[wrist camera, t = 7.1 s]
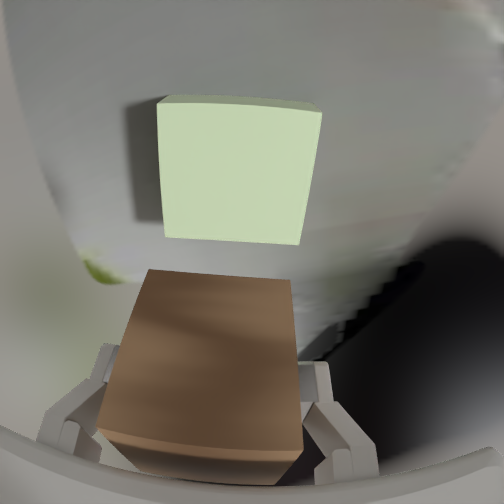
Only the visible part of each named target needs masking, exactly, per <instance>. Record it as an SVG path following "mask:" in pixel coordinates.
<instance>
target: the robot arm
mask: <svg viewBox="0 0 504 504" xmlns="http://www.w3.org/2000/svg"><path fill="white" fill-rule="evenodd" d="M119 347H120V346H119V345H113V344H108V343H104V344H103V345H102V346H101V348H100V351H99V354H98V356H97V359H96V362H95V365H94V368H93V370H92V373H91V376H90V379H85V380H84V381H82V382H81V383H80V384H79V385H77V386H76V387H75V388H74V389H73V390H71V391H70V392H69V393H68V394H66V395H65V396H64V397H63V398H62V399H60V400H59V401H58V402H57V403H55V404H54V405H53V406H52V407H51V408H49V409H48V410H47V411H46V412H45V415H44V418H43V421H42V424H41V427H40V430H39V433H38V436H37V439H36V441H34V440H32V439H29V438H27V437H25V436H23V435H21V434H18V433H16V432H14V431H12V430H10V429H8V428H6V427H4V426H1V425H0V504H504V456H503V455H502V454H501V453H500V452H498V451H497V450H496V449H495V448H493V447H486V448H482V449H480V450H477V451H474V452H471V453H469V454H466V455H463V456H460V457H457V458H454V459H451V460H447V461H444V462H441V463H437V464H434V465H430V466H427V467H423V468H419V469H415V470H411V471H406V472H402V473H398V474H393V475H387V476H382V477H380V476H379V469H378V462H377V455H376V448H375V444H374V443H373V442H372V441H371V440H370V439H369V437H368V436H367V435H366V434H365V433H364V432H363V431H362V429H361V428H360V427H359V426H358V425H357V424H356V423H355V421H354V420H353V419H352V418H351V417H350V416H349V415H348V413H347V412H346V411H345V410H344V409H343V408H342V407H341V405H340V404H339V403H338V402H334V401H333V395H332V388H331V381H330V374H329V367H328V364H327V362H312V361H305V362H298V375H299V388H300V403H301V418H302V422H303V425H304V426H305V428H306V429H307V431H308V432H309V434H310V435H311V436H312V438H313V439H314V441H315V442H316V444H317V445H318V447H319V448H320V449H321V451H322V452H323V454H324V455H325V457H326V459H325V460H324V461H323V462H322V463H320V464H319V465H318V466H317V467H316V468H315V469H314V472H315V485H309V486H287V487H252V486H230V485H216V484H206V483H196V482H188V481H181V480H174V479H168V478H162V477H156V476H150V475H146V474H141V473H136V472H132V471H127V470H123V469H119V468H115V467H111V466H107V465H104V464H100V463H99V460H100V455H101V450H102V448H101V445H100V444H99V443H98V442H97V441H96V440H94V439H93V438H92V436H93V435H94V434H95V433H96V432H97V430H98V429H97V428H96V427H95V426H96V422H97V419H98V415H99V412H100V408H101V405H102V401H103V398H104V394H105V391H106V388H107V385H108V381H109V378H110V375H111V372H112V369H113V366H114V362H115V359H116V356H117V353H118V350H119Z"/></svg>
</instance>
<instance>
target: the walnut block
mask: <svg viewBox="0 0 504 504" xmlns="http://www.w3.org/2000/svg"><path fill="white" fill-rule="evenodd" d="M95 427H96V428H97V429H98V430H99V431H100V432H101V433H102V434H103V435H104V437H106V439H107V440H108V441H109V442H110V443H111V444H112V445H113V446H115V448H116V449H117V450H118V451H119V452H120V453H122V454H123V455H124V456H125V457H126V458H127V459H128V460H129V461H130V462H131V463H132V464H133V465H134V466H135V467H136V468H138V469H139V470H140V471H143V472H148V473H152V474H158V475H164V476H169V477H177V478H182V479H190V480H198V481H207V482H218V483H232V484H255V485H257V484H258V485H274V484H275V483H276V482H277V481H278V480H279V479H280V478H281V476H282V475H283V474H284V473H285V472H286V471H287V469H288V468H289V467H290V466H291V465H292V464H293V462H294V461H295V460H296V458H298V456H299V455H300V454H301V453H302V451H303V435H302V418H301V403H300V388H299V375H298V362H297V349H296V338H295V326H294V315H293V304H292V294H291V284H290V280H282V279H267V278H252V277H238V276H225V275H212V274H199V273H187V272H175V271H164V270H152V269H149V270H148V272H147V275H146V277H145V280H144V282H143V285H142V287H141V290H140V292H139V295H138V298H137V300H136V303H135V306H134V308H133V311H132V314H131V316H130V319H129V322H128V325H127V328H126V330H125V333H124V336H123V339H122V342H121V345H120V347H119V350H118V353H117V356H116V359H115V362H114V366H113V369H112V372H111V375H110V378H109V381H108V385H107V388H106V391H105V394H104V398H103V401H102V405H101V408H100V412H99V415H98V419H97V422H96V426H95Z"/></svg>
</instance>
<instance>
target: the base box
mask: <svg viewBox="0 0 504 504" xmlns="http://www.w3.org/2000/svg"><path fill="white" fill-rule="evenodd" d="M321 119H322V112H321V111H320V110H319V109H318V108H317V107H316V105H315V104H314V103H306V102H298V101H290V100H280V99H270V98H258V97H243V96H222V95H168V96H167V97H165V98H164V99H163V100H161V101H160V102H158V103H157V127H158V152H159V170H160V185H161V198H162V210H163V221H164V231H165V237H170V238H188V239H206V240H223V241H240V242H257V243H273V244H289V245H299V242H300V237H301V232H302V227H303V222H304V216H305V211H306V206H307V200H308V195H309V190H310V184H311V179H312V173H313V167H314V162H315V156H316V150H317V144H318V138H319V132H320V125H321Z"/></svg>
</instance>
